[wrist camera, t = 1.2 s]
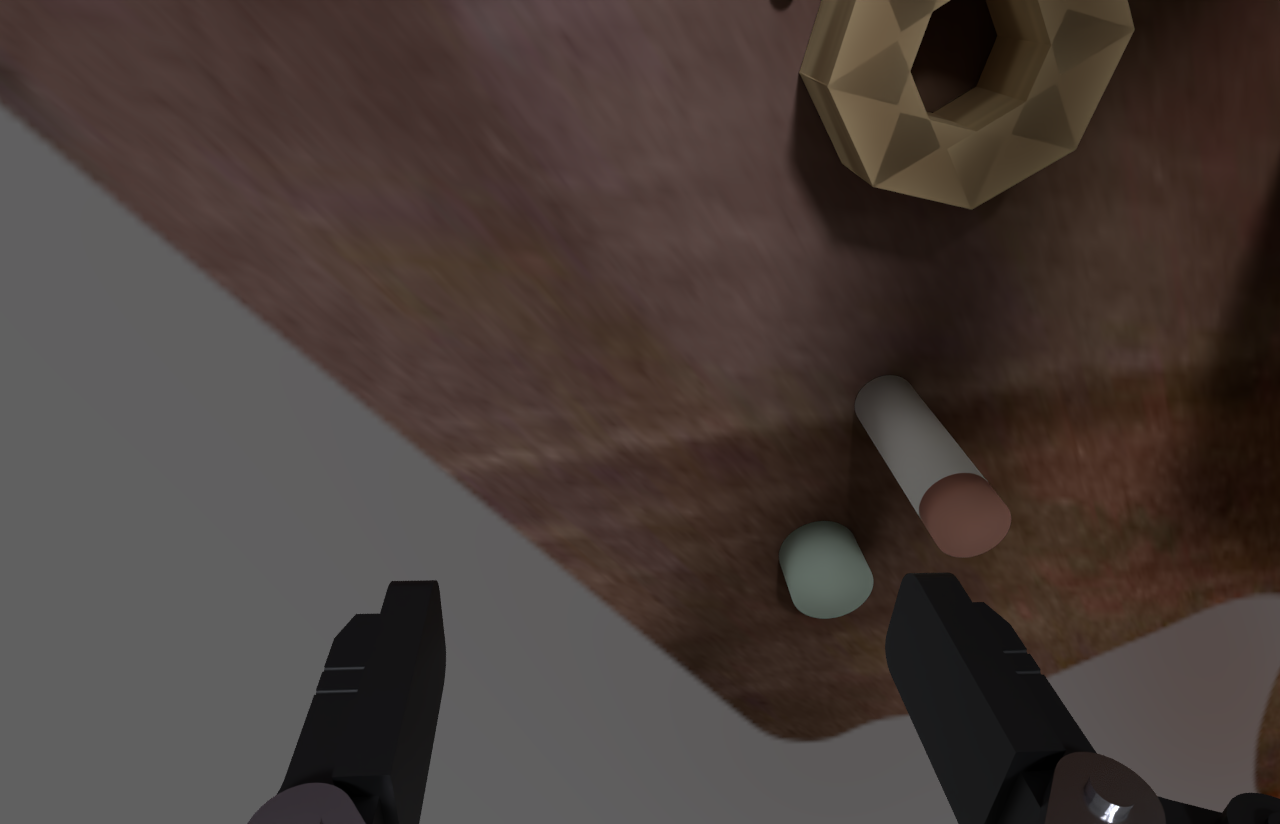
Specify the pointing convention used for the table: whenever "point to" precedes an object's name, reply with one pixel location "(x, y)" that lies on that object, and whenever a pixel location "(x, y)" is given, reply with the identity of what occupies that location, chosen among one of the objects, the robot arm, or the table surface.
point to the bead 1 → (825, 570)
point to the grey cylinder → (932, 469)
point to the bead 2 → (974, 122)
